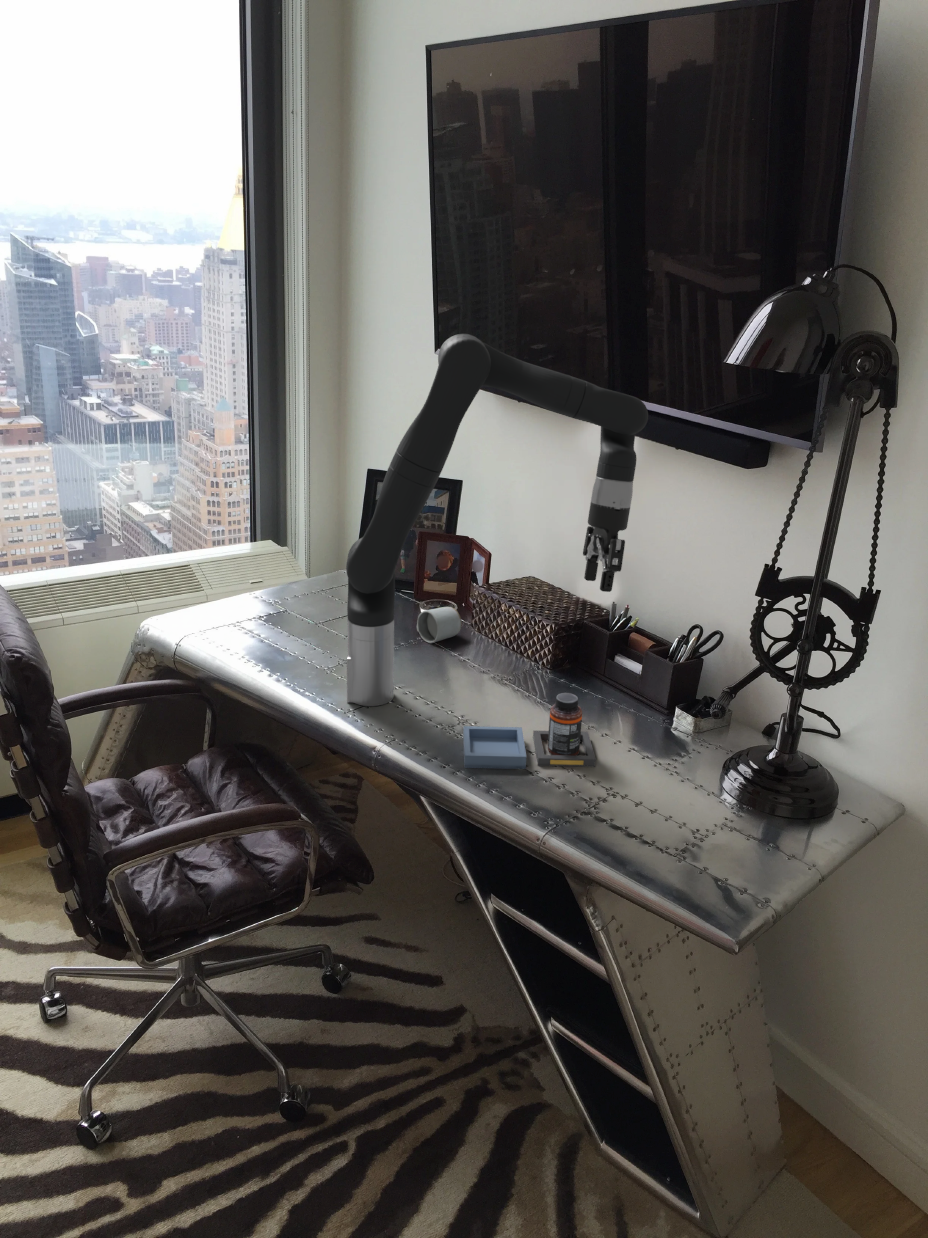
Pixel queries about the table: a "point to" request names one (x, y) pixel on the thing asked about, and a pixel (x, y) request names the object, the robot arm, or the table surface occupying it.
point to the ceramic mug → (438, 624)
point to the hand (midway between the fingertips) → (597, 585)
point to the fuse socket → (563, 759)
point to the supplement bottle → (565, 726)
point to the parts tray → (494, 747)
